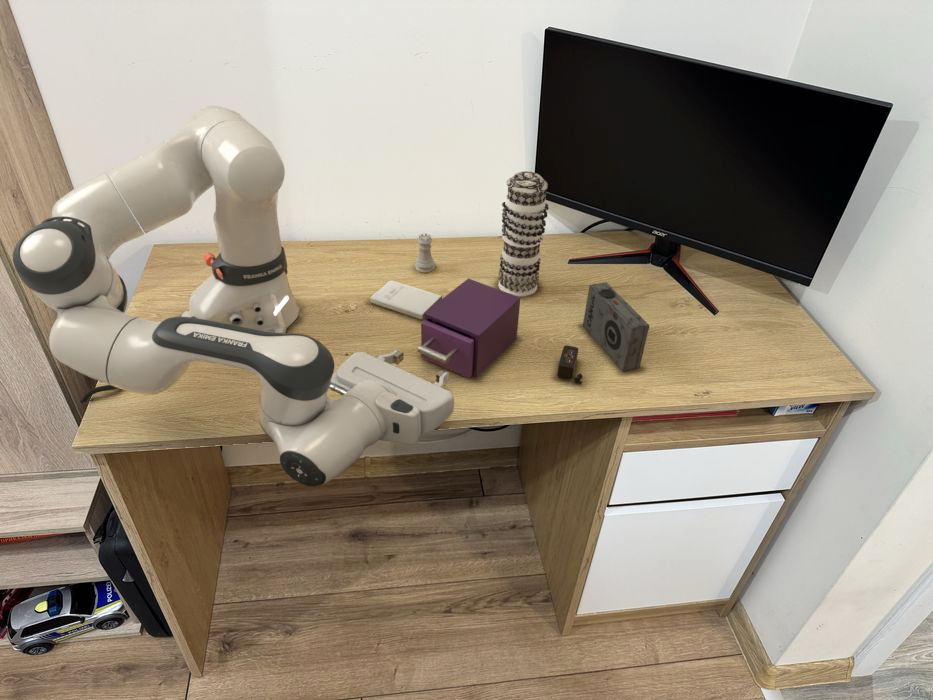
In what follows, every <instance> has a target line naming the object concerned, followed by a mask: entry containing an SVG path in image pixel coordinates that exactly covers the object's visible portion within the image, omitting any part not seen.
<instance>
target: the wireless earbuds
mask: <svg viewBox="0 0 933 700" xmlns="http://www.w3.org/2000/svg"><path fill="white" fill-rule="evenodd" d="M579 351H580V349H579V347H577V346H573V345H567V344H565V345H564V346H563V347H562V351H561V353H560V358H559V362H558V366H557V373H556V376H557V378H558V379H561V380H566V381H571V380H572V379H573V382H574V383H575V384H578V385H580V386H581V385H582V384H583V381H582V380H583V376H584V375H583V374H582V373H577V374H576V375H575V377H574V374H575V369H576V365H577V362H578V356H579ZM573 377H574V378H573Z"/></svg>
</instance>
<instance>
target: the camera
mask: <svg viewBox="0 0 933 700" xmlns="http://www.w3.org/2000/svg"><path fill="white" fill-rule="evenodd" d="M587 292H588V293H587V298H586V304H585V309H584V316H583V322H582V327H583V328H584V329H585V330H586V332H587V333H588V334H589V335H590V336H591V338H593V339H594V341H595V342H596V343H597V344H598V345H599V346H600V347H601V348H602V350H603V351H604V352H605V353H606V354H607V355H608V356H609V358H610V359H611V360H612V361H613V362H614V363H615V365H616V366H617V368H618V369H620V371H622V372H627V371H630V370H636V369H640V367H641V363H642V360H643V356H644V355H643V354H644V351H645V346H646V342H647V338H648V334H649V330H650V324H649V323H648V322H647V321H645V320H644V318H643V317H642V316H641V315H640V314H639V313H638V312H637V311H636V310H635V309H634V308H633V307H632V306H631V305H630V304H629V303H628V302H627V301H626V300H625V299H624V298H623V297H622V296H621V295H620V294H619V293H618V292H617V291H616V290H615V289H614V288H613V287H612V286H611V285H610V284H609V282H607V281H605V282H604V281H603V282H600V283H599V282H598V283H593V284H589V285H588V291H587Z"/></svg>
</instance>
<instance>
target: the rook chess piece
mask: <svg viewBox="0 0 933 700" xmlns="http://www.w3.org/2000/svg"><path fill="white" fill-rule="evenodd" d="M432 242H433V239H432V236H431V234H428V233H424V234H423V233H421V234H419V235H418V238H417V243H418V246H417V247H418V256H417V258H416V260H415V262H414V268H415V270H416V271H417V272H418V273H421V274H422V273H423V274H429V273H431V272H433V271H434V270H435V268H436V265H435V264H436V263H435V260H434V259H433V257H432V251H431V249H432V245H431V244H432Z"/></svg>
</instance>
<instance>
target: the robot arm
mask: <svg viewBox="0 0 933 700" xmlns="http://www.w3.org/2000/svg"><path fill="white" fill-rule="evenodd" d="M281 157H282V156H281V155H280V152H279V151H278V149H277V148H276V145H275V144H274V143H273V142H272V141H271V139H269V138H268V137H267V136H266V135H265V134H264V133H262V132H261V131H260V130H259V129H258V128H257V127H256V126H254V125H253V124H252V123H251V122H249V121H248V120H247V119H246V118H244V116H243V115H241V114H240V113H238V112H237V111H235V110H233V109H230V108H227V107H223V106H218V105H209V106H208V105H207V106H204V107H201V108H199V109H198V110H197V111H195V112H194V113H193V115H192V116H191V117H190V119H189V121H188V123H187V124H186V125H184V126H183V127H181V128H180V129H179V130H178V131H176V132H175V133H173V135H170V137H168V138H167V139H166V140H163V142H162V143H160V144H159V145H157V146H156V147H154V148H152V149H151V150H148V151H147V152H145V153H143V154H141V155H139V156H137V157H134V158H132V159H130V160H128V161H126V162H124V163H122V164H120V165H117V166H115V167H113V168H111V169H109V170H107V171H104V172H101V173H100V174H98V175H96V176H93V177H91V178H90V179H89V180H86V181H84V182H83V183H82V184H80V185H78V186H76V187H75V188H74V189H72V190H70V191H69V192H68V193H66V194H65V195H63V196H62V197H61V198H59V199H58V200H57V201H56V202H55V203H54V204H53V206H52V209H51V217H49V218H45V219H44V220H43V221H42V222H40V223H39V224H37V225H35V226H33V227H32V228H31V229H29V230H28V231H26V232H25V233H24V234H23V235H22V236H21V238H20V239H19V240H18V242H17V243H16V244H15V247H14V249H13V252H12V262H13V266H14V269H15V271H16V273H17V276H18V277H19V278H20V280H21V281H22V283H23V284H24V285H25V286H26V287H27V288H29V289H30V290H31V291H32V292H33V293H34V294H35V295H36V297H37V298H38V299H39V300H40V301H42V302H43V304H45V305H46V306H47V307H49V308H50V309H52V310H54V311H55V312H56V315H57V316H56V319H55V321H54V323H53V324H52V326H51V329H50V333H49V338H48V340H49V341H48V342H49V343H48V344H49V348H50V351H51V353H52V356H54V358H55V359H56V360H57V361H59V362H60V363H61V364H63V365H65V366H67V367H68V368H70V369H72V370H74V371H76V372H78V373H80V374H81V375H83V376H86V377H88V378H90V379H92V380H95V381H97V382H100V383H102V384H105V385H100V386H96V387H93V388H91V389H89V390H88V391H86V392H84V394H83V396H82V397H81V398H80V400H79V403H80V404H83V403H86V402H87V401H88V400H89V398H90V397H92V396H93V395H95V394H97V393H101V392H107V391H113V390H117V389H119V390H123V391H126V392H130V393H133V394H138V395H145V396H146V395H148V396H154V395H158V394H161V393H163V392H166V391H167V390H169V389H171V388H172V387H174V386H175V385H176V384H177V383H178V382H179V381H180V380H181V379H182V377H183V376H184V375H185V373H186V372H187V370H188V369H189V368H190V366H191V364H192V363H197V362H206V363H211V364H216V365H221V366H226V367H231V368H234V369H235V368H236V369H240V370H246V371H250V372H251V373H253V374H254V375H255V376H256V377H257V378H258V379H259V381H260V392H259V393H260V395H259V400H258V401H259V402H258V422H259V426H260V428H261V429H262V431H263V432H264V434H266V435H267V436H268V437H269V438H270V439H271V440H272V442H273V443H274V444H275V447H276V449H277V452H278V455H279V463H280V465H281V468H282V469H283V471H284V472H285V474H287V475H288V476H289V477H290V478H291V479H292V480H294V481H295V482H296V483H299V484H301V485H303V486H306V487H312V488H313V487H319V486H324V485H326V484H328V483H329V482H331V481H333V480H334V479H336V478H337V477H339V476H340V475H341V474H342V473H344V472H345V471H346V470H348V469H349V468H350V467H351V466H352V465H354V464H355V463H356V462H357V461H358V460H359V459H360V458H361V456H362V455H363V453H364V452H365V451H366V449H367V448H369V447H370V446H372V445H375V444H376V443H377V442H378V441H382V442H383V441H384V442H392V443H393V442H394V443H397V444H398V443H399V444H403V445H409V446H414V445H416V444H418V443H419V442H420V440H421V434H422V435H423V434H424V435H425V434H429V433H431V432H432V431H435V430H436V429H437V428H439V427H440V426H441V425H442V424H443V423H444V422H445V421H446V420H447V419H449V418H450V416H451V415H452V414H453V412H454V408H455V397H454V393H453V392H452V391H450V390H448V389H446V388H444V385H445V384H447V383H448V382H449V380H450V372H449V371H446V370H444V369H440V370H439V371H438V372H437V373H435V382H431V381H428V380H427V379H424V378H422V377H420V376H417V375H415V374H412V373H411V372H408V371H406V370H404V369H402V368H400V367H398V365H400V364H401V362H403V361H404V358H405V356H404V355H405V353H404V352H403V351H401V350H398V349H395V350H394V351H392V352H391V353H386V354H381V355H378V356H376V357H375V356H373V355H371V354H369V353H367V352H365V351H362V350H361V351H357V352H354V353H352V354H351V355H349V357H347V359H345V360H344V362H343V363H342V364H341V365H340V366H339V367H338V369H337V371H335V361H334V357H333V355H332V353H331V351H330V350H329V349H328V348H327V347H326V345H324V344H323V343H322V342H321V341H320V340H318V339H316V338H314V337H313V336H310V335H308V334H303V333H297V332H296V333H294V332H293V333H292V332H286V331H287V329H288V328H289V327H290V326H291V325H292V324H293V323H294V322H295V321H296V320H297V318H298V316H299V314H300V307H299V304H298V303H297V301H296V299H295V297H294V294H293V291H292V289H291V286H290V283H289V278H288V261H287V254H286V251H285V247H284V246H282V240H281V233H280V225H279V217H278V201H279V198H278V197H279V190H280V189H281V187H282V186H283V183H284V180H285V176H286V174H285V173H286V170H285V164H284V162H283V159H282V158H281ZM212 187H214V193H215V194H214V195H215V211H214V212H213V216H212V217H213V218H212V219H213V224H214V228H215V233H216V234H215V235H216V237H217V244H218V249H219V253H218V255H217V256H216V257H215V254H214V253H212V252H207V253H205V254H204V256H203V257H202V259H203V261H204V262H205V264H206V266H208V267H211V272H212V274H210V275H209V276H208V277H207V278H206V279H205V280H204V281H203V282H202V283H201V284H199V286H197V287H196V288H195V289H194V290H193V291H192V292H191V293H190V296H189V301H188V310H186V311H184V312H183V313H182V314H181V315H180V316H171V317H168V318H166V319H164V320H163V321H157V320H156V321H155V320H150V319H147V318H144V317H140V316H137V315H133V314H131V313H127V312H126V309H127V306H128V300H129V299H128V297H129V296H128V290H127V287H126V284H125V281H124V280H123V278H122V277H121V276H120V274H119V273H118V272H117V270H116V269H115V267H114V266H113V265H112V263H111V261H110V259H111V257H112V255H113V254H114V253H115V251H117V250H118V248H120V247H121V246H122V245H124V244H125V243H128V242H130V241H133V240H135V239H137V238H139V237H142V236H144V235H146V234H148V233H150V232H152V231H153V230H156V229H158V228H160V227H162V226H164V225H166V224H169V223H171V222H172V221H174V220H176V219H179V218H181V217H183V216H185V215H186V214H188V213H189V212H190V211H191V210H192V209H193V206H194V204H195V202H196V201H197V200H198V199H199V198H200V197H201V196H202V195H203V194H204V193H206V192H207V191H208V190H209V189H211V188H212ZM395 365H397V366H395ZM328 390H330V391H332V392H334V393H337V394H338V395H340V397H339V398H338V399H336V400H333V399H331V398H329V397H328Z"/></svg>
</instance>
